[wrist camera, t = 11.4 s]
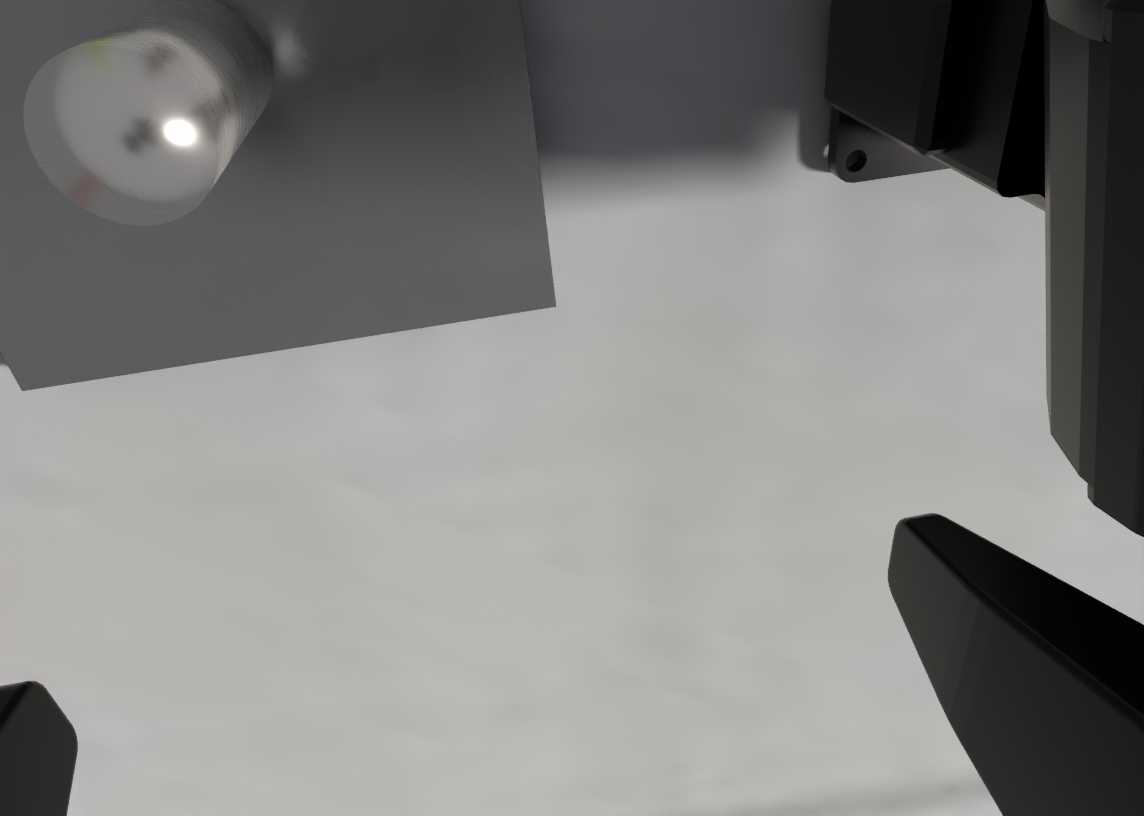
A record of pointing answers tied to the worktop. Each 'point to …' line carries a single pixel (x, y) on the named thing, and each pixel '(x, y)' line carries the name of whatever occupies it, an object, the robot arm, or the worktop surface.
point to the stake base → (258, 177)
